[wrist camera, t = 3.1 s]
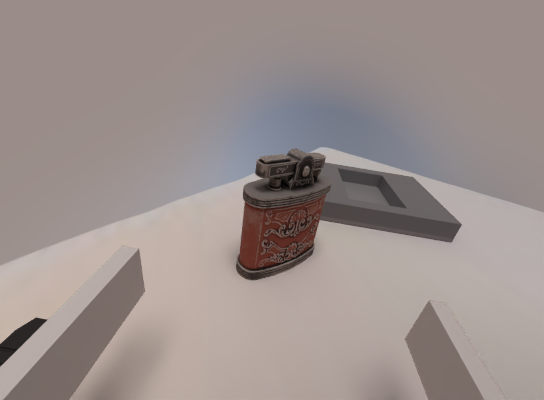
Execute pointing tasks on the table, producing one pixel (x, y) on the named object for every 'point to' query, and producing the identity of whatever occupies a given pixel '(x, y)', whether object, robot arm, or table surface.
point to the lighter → (281, 213)
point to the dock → (385, 203)
